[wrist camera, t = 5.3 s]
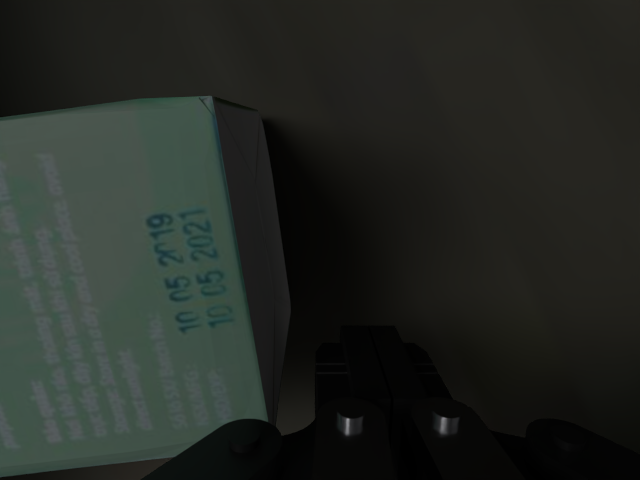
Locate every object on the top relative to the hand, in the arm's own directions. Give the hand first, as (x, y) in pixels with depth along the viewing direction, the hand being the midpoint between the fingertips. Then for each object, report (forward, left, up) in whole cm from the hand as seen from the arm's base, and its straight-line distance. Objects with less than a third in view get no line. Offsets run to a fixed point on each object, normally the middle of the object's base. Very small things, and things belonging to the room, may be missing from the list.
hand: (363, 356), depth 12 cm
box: (-2, -9, -4) cm, 11 cm away
